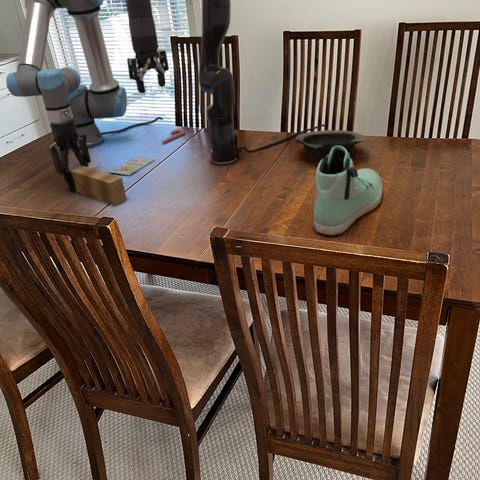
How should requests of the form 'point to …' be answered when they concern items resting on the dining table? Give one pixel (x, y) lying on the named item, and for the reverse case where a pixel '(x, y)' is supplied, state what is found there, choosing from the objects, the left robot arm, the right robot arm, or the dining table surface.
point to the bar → (97, 184)
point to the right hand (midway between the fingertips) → (152, 89)
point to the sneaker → (343, 192)
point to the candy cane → (179, 131)
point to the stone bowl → (328, 142)
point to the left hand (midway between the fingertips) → (79, 187)
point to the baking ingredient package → (131, 166)
